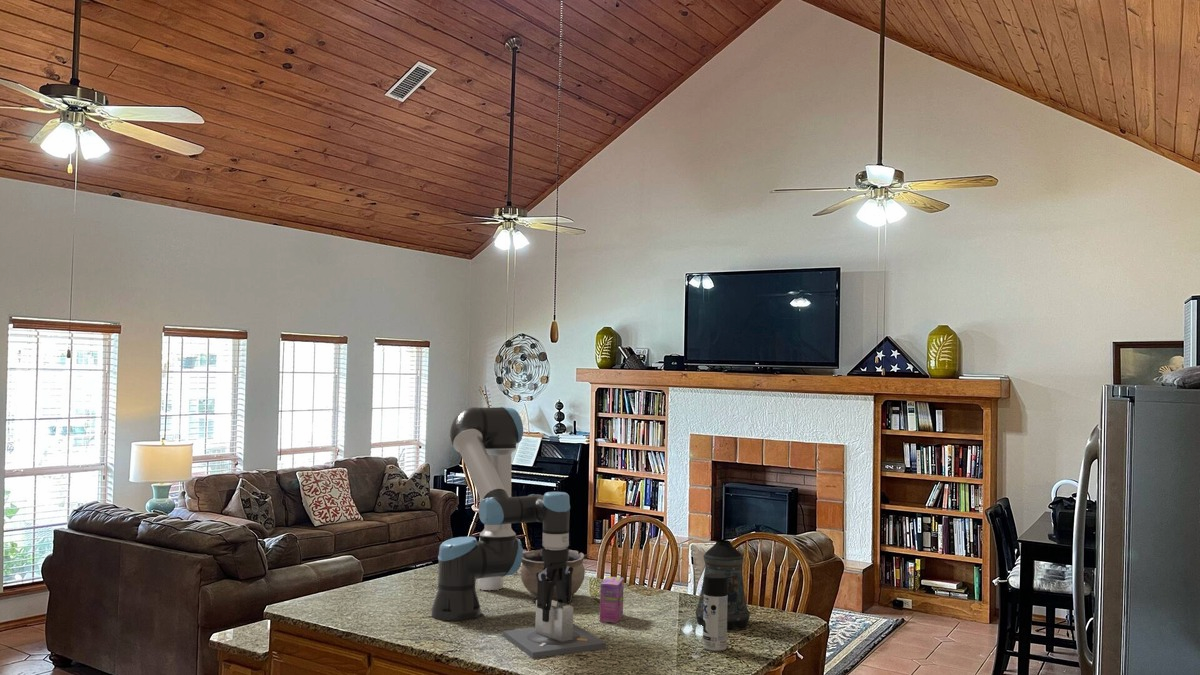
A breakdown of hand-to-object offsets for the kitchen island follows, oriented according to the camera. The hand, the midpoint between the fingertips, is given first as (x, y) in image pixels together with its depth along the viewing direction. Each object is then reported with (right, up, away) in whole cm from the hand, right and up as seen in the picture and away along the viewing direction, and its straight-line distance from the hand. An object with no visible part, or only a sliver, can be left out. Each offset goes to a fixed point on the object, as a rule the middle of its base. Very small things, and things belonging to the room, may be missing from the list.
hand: (553, 630), depth 250 cm
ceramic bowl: (-3, -6, +50) cm, 50 cm away
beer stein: (+50, -6, +24) cm, 56 cm away
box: (+17, -5, +26) cm, 32 cm away
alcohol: (-26, -6, +63) cm, 68 cm away
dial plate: (0, -3, 0) cm, 3 cm away
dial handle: (0, -1, 0) cm, 1 cm away
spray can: (+45, -4, -3) cm, 45 cm away
